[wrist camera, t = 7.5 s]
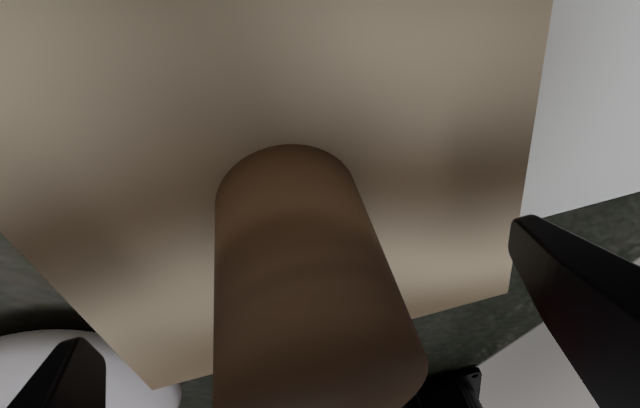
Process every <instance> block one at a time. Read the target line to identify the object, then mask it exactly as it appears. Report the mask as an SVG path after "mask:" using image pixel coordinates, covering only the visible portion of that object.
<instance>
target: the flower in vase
mask: <svg viewBox="0 0 640 408" xmlns="http://www.w3.org/2000/svg"><path fill="white" fill-rule="evenodd" d="M75 337H83V338H85V339H86V340H87V341H88V342H89V343H90V344H91V345H92V346H93V347H94V348H95V349H96V350H97V351H98V352H99V353H100V354H101V355H102V356H103V357H104V359H105V362H106V408H178V407H179V405H180V401H181V387H180V384H179V383H177V384H173V385H170V386H166V387H163V388H159V389H155V390H151V389H150V387H149V386H148V385H147V384H146V383H145V382H144V381H143V380H142V379H141V378H140V377H139V376H138V375H137V374H136V373H135V372H134V371H133V370H132V369H131V368H130V367H129V366H128V365H127V364H126V362H125V361H124V360H123V359H122V358H121V357H120V356H119V355H118V354H117V353H116V352H115V351H114V350H113V349H112V348H111V347H110V346H109V345H108V344H107V343H106V342H105V341H104V340H103V339H102V338H101V336H100V335H99V334H98V333H96V332H90V331H80V330H64V329H52V330H35V331H26V332H20V333H14V334H9V335H4V336H1V337H0V408H7V406H8V405H9V404H10V403H11V401H12V400H13V399H14V398H15V396H16V395H17V394H18V393H19V391H20V390H21V389H22V388H23V386H24V385H25V384H26V383H27V381H28V380H29V379H30V378H31V377H32V375H33V374H34V373H35V372H36V370H37V369H38V368H39V367H40V365H41V364H42V363H43V362H44V360H45V359H46V358H47V357H48V355H49V354H50V353H51V352H52V350H53V349H54V348H55V347H56V346H57V345H58V344H59V343H60V342H62V341H64V340H68V339H71V338H75Z"/></svg>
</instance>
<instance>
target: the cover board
mask: <svg viewBox="0 0 640 408" xmlns="http://www.w3.org/2000/svg"><path fill="white" fill-rule="evenodd" d="M552 6H553V0H0V232H1V233H2V234H3V235H4V237H5V238H6V239H7V240H8V241H9V242H10V243H11V244H12V245H13V246H14V247H15V248H16V249H17V250H18V251H19V252H20V253H21V254H22V255H23V256H24V257H25V258H26V259H27V260H28V262H29V263H30V264H31V265H32V266H33V267H34V268H35V269H36V270H37V271H38V272H39V273H40V274H41V275H42V276H43V277H44V278H45V279H46V280H47V281H48V282H49V283H50V284H51V285H52V286H53V288H54V289H55V290H56V291H57V292H58V293H59V294H60V295H61V296H62V297H63V298H64V299H65V300H66V301H67V302H68V303H69V304H70V305H71V306H72V307H73V308H74V309H75V310H76V311H77V313H78V314H79V315H80V316H81V317H82V318H83V319H84V320H85V321H86V322H87V323H88V324H89V325H90V326H91V327H92V328H93V329H94V330H95V331H96V332H97V333H98V334H99V335H100V336H101V338H102V339H103V340H104V341H105V342H106V343H107V344H108V345H109V346H110V347H111V348H112V349H113V350H114V351H115V352H116V353H117V354H118V355H119V356H120V357H121V358H122V359H123V360H124V361H125V362H126V364H127V365H128V366H129V367H130V368H131V369H132V370H133V371H134V372H135V373H136V374H137V375H138V376H139V377H140V378H141V379H142V380H143V381H144V382H145V383H146V384H147V385H148V386H149V387H150V389H151V390H155V389H159V388H163V387H166V386H170V385H173V384H177V383H181V382H184V381H188V380H192V379H195V378H199V377H203V376H206V375H210V374H213V408H401V407H402V406H403V405H405V404H406V403H407V402H408V401H409V400H410V399H411V398H412V397H413V396H414V395H415V394H416V393H417V392H418V390H419V389H420V388H421V386H422V385H423V383H424V381H425V379H426V376H427V373H428V365H429V364H428V358H427V355H426V353H425V350H424V348H423V346H422V343H421V341H420V338H419V336H418V334H417V331H416V329H415V326H414V324H413V322H412V319H414V318H418V317H421V316H425V315H429V314H432V313H436V312H440V311H443V310H447V309H450V308H454V307H458V306H461V305H465V304H469V303H472V302H476V301H480V300H483V299H487V298H491V297H494V296H498V295H501V294H505V293H508V288H509V282H510V275H511V269H512V262H513V261H512V259H511V257H510V255H509V251H508V241H509V234H510V226H511V222H512V221H513V219H515V218H518V217H520V211H521V205H522V198H523V192H524V185H525V179H526V173H527V166H528V160H529V153H530V147H531V141H532V134H533V128H534V121H535V115H536V109H537V102H538V96H539V89H540V83H541V77H542V70H543V64H544V57H545V51H546V45H547V38H548V32H549V25H550V19H551V13H552Z"/></svg>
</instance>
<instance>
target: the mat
mask: <svg viewBox="0 0 640 408" xmlns="http://www.w3.org/2000/svg"><path fill="white" fill-rule="evenodd" d="M639 191H640V0H553V6H552V13H551V19H550V25H549V32H548V38H547V45H546V51H545V57H544V64H543V70H542V77H541V83H540V89H539V96H538V102H537V109H536V115H535V121H534V128H533V134H532V141H531V147H530V153H529V160H528V166H527V173H526V179H525V185H524V192H523V198H522V205H521V211H520V217H522V216H525V215H530V214H533V215H536V216H539V217H541V218H543V217H547V216H550V215H554V214H558V213H562V212H565V211H569V210H573V209H576V208H580V207H584V206H587V205H591V204H595V203H599V202H602V201H606V200H610V199H613V198H617V197H621V196H624V195H628V194H632V193H635V192H639Z"/></svg>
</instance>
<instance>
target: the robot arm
mask: <svg viewBox="0 0 640 408" xmlns="http://www.w3.org/2000/svg"><path fill="white" fill-rule="evenodd" d="M508 251H509V255H510V257H511V259H512V261H513V263H514V265H515V267H516V269H517V271H518V273H519V275H520V277H521V279H522V281H523V283H524V285H525V287H526V289H527V291H528V293H529V295H530V297H531V299H532V301H533V303H534V305H535V306H536V308H537V310H538V312H539V314H540V316H541V318H542V320H543V321H544V323H545V325H546V326H547V328H548V329H549V331H550V332H551V334H552V336H553V337H554V338H555V340H556V342H557V343H558V345H559V346H560V348H561V349H562V351H563V352H564V354H565V355H566V357H567V358H568V360H569V361H570V363H571V365H572V366H573V367H574V369H575V371H576V372H577V374H578V375H579V376H580V378H581V379H582V381H583V383H584V384H585V386H586V387H587V389H588V390H589V392H590V393H591V395H592V396H593V398H594V399H595V401H596V403H597V404H598V406H599V407H600V408H640V266H638V265H636V264H634V263H632V262H630V261H628V260H626V259H624V258H622V257H620V256H618V255H616V254H614V253H612V252H610V251H608V250H606V249H604V248H602V247H600V246H597V245H595V244H593V243H591V242H589V241H587V240H585V239H583V238H581V237H579V236H577V235H575V234H573V233H571V232H569V231H567V230H565V229H563V228H561V227H559V226H557V225H555V224H553V223H551V222H549V221H547V220H545V219H543V218H541V217H539V216H536V215H533V214H530V215H525V216H522V217H518V218H515V219H513V221H512V222H511V226H510V234H509V241H508ZM481 376H482V374H481V372H480V370H479V368H478V367H474V368H470V369H466V370H462V371H459V372H455V373H452V374H448V375H444V376H441V377H437V378H434V379H430V380H426V381H424V383H423V385H422V386H421V388H420V389H419V390H418V392H417V393H416V394H415V395H414V396H413V397H412V398H411V399H410V400H409V401H408V402H407V403H406V404H405V405H403V406H402V407H401V408H483V407H482V405H481V403H480V402H479V393H480V384H481ZM7 408H106V362H105V359H104V357H103V356H102V355H101V354H100V353H99V352H98V351H97V350H96V349H95V348H94V347H93V346H92V345H91V344H90V343H89V342H88V341H87V340H86V339H85V338H83V337H75V338H71V339H68V340H64V341H62V342H60V343H59V344H58V345H57V346H56V347H55V348H54V349H53V350H52V352H51V353H50V354H49V355H48V357H47V358H46V359H45V360H44V362H43V363H42V364H41V365H40V367H39V368H38V369H37V370H36V372H35V373H34V374H33V375H32V377H31V378H30V379H29V380H28V381H27V383H26V384H25V385H24V386H23V388H22V389H21V390H20V391H19V393H18V394H17V395H16V396H15V398H14V399H13V400H12V401H11V403H10V404H9V405H8V406H7Z"/></svg>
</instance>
